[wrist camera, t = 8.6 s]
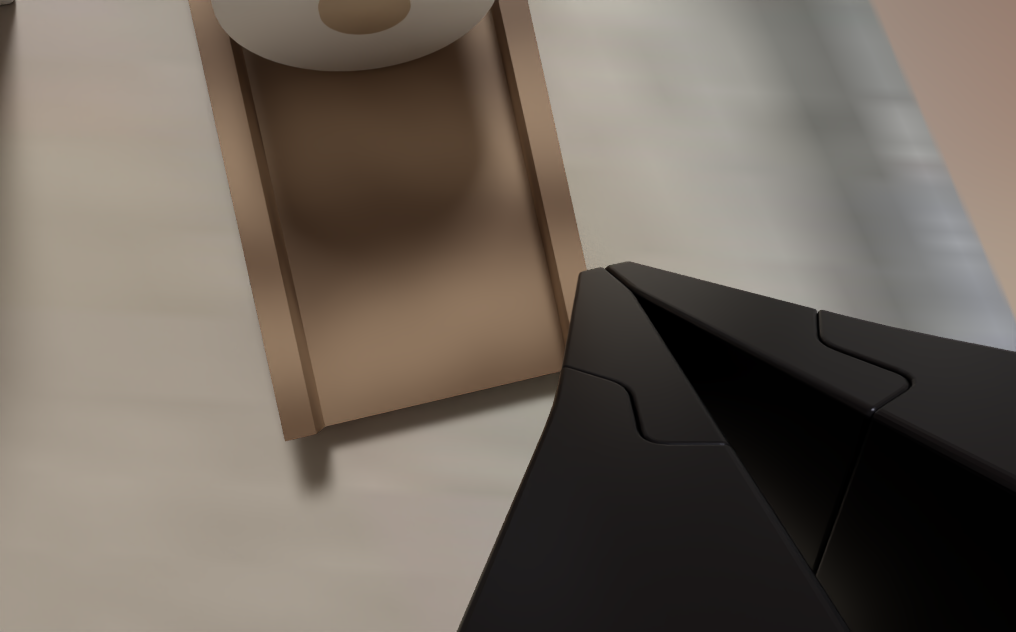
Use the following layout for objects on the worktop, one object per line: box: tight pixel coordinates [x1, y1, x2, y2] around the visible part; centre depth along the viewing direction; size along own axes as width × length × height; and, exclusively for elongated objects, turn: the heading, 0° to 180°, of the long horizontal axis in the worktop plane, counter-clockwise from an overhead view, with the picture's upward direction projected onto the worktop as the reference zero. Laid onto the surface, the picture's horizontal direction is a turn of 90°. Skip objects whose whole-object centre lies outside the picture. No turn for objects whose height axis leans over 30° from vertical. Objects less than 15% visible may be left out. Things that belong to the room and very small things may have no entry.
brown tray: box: [188, 0, 587, 441], centre depth 19 cm, size 24×11×6 cm, turn 13°
